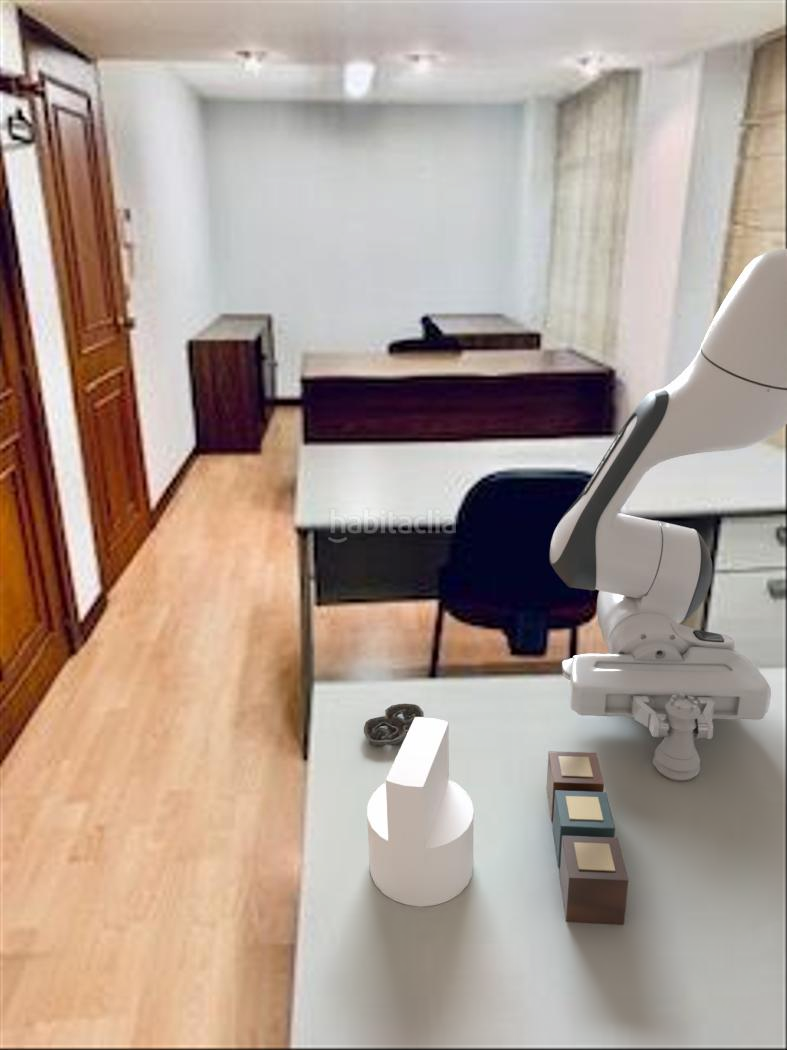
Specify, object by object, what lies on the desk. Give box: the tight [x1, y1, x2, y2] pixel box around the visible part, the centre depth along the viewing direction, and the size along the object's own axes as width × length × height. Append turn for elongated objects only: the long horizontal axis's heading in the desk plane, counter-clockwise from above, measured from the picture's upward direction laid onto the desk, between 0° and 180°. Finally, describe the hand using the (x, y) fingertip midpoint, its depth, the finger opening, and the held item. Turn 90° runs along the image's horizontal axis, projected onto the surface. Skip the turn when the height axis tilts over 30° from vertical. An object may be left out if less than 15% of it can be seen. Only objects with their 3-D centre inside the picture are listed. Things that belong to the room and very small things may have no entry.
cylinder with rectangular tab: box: [366, 716, 475, 908], centre depth 64 cm, size 9×9×12 cm
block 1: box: [546, 750, 605, 823], centre depth 71 cm, size 4×4×5 cm
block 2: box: [559, 836, 629, 925], centre depth 61 cm, size 4×4×5 cm
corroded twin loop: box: [363, 703, 425, 746], centre depth 84 cm, size 5×8×1 cm, turn 139°
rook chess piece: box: [652, 694, 701, 782], centre depth 75 cm, size 4×4×8 cm
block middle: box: [552, 790, 616, 869], centre depth 66 cm, size 4×4×5 cm
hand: (683, 732), depth 74 cm, fingers closed on rook chess piece, 3 cm apart
